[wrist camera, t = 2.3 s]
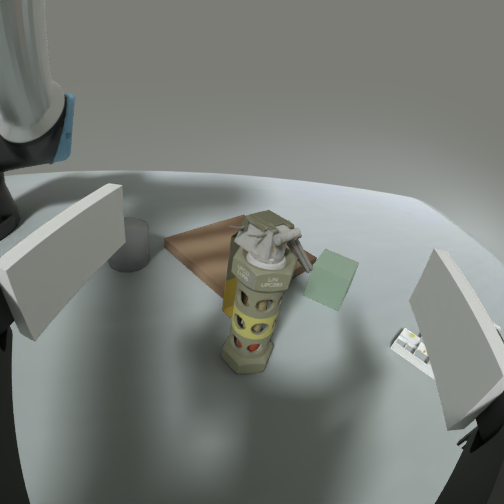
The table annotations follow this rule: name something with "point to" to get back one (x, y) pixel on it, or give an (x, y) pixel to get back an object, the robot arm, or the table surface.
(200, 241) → the walnut board
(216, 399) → the table surface
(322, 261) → the green block
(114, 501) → the table surface
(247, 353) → the grenade
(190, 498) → the table surface
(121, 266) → the grey rounded block
